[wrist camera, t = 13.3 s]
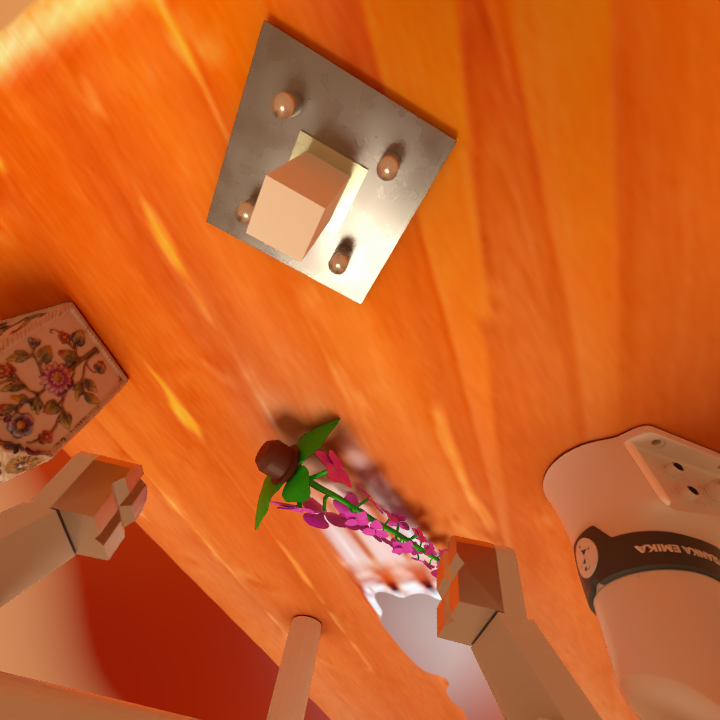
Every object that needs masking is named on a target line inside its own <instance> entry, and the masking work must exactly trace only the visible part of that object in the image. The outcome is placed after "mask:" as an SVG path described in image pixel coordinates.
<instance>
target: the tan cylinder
mask: <svg viewBox="0 0 720 720" xmlns="http://www.w3.org/2000/svg"><path fill="white" fill-rule="evenodd" d="M321 629H322V626H321V623H320V622H319V621H317V620H316V619H314V618H311V617H307V616H297V617H294V618H293V620H292V622H291V625H290V629H289V633H288V637H287V641H286V645H285V649H284V653H283V657H282V661H281V665H280V668H279V672H278V676H277V680H276V684H275V688H274V692H273V696H272V700H271V704H270V708H269V712H268V716H267V719H266V720H304V715H305V709H306V705H307V700H308V695H309V690H310V685H311V680H312V675H313V670H314V665H315V660H316V655H317V649H318V644H319V639H320V634H321Z"/></svg>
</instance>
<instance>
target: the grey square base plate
mask: <svg viewBox="0 0 720 720" xmlns="http://www.w3.org/2000/svg"><path fill="white" fill-rule="evenodd" d="M456 142H457V141H456V139H454V138H452V137H451V136H449V135H448V134H446V133H445V132H443V131H441V130H440V129H438V128H437V127H435V126H433V125H432V124H430V123H429V122H427V121H425V120H424V119H422V118H421V117H419V116H417V115H416V114H414V113H413V112H411V111H410V110H408V109H406V108H405V107H403V106H402V105H400V104H398V103H397V102H395V101H394V100H392V99H390V98H389V97H387V96H386V95H384V94H383V93H381V92H379V91H378V90H376V89H375V88H373V87H371V86H370V85H368V84H367V83H365V82H363V81H362V80H360V79H359V78H357V77H355V76H354V75H352V74H351V73H349V72H348V71H346V70H344V69H343V68H341V67H340V66H338V65H336V64H335V63H333V62H332V61H330V60H328V59H327V58H325V57H324V56H322V55H321V54H319V53H317V52H316V51H314V50H313V49H311V48H309V47H308V46H306V45H305V44H303V43H301V42H300V41H298V40H297V39H295V38H293V37H292V36H290V35H289V34H287V33H286V32H284V31H282V30H281V29H279V28H278V27H276V26H274V25H273V24H271V23H270V22H268V21H265V20H264V22H263V25H262V29H261V32H260V36H259V39H258V43H257V46H256V50H255V53H254V57H253V60H252V64H251V67H250V71H249V74H248V78H247V81H246V85H245V88H244V92H243V95H242V99H241V102H240V106H239V109H238V113H237V116H236V120H235V123H234V127H233V130H232V134H231V137H230V141H229V144H228V148H227V151H226V155H225V158H224V162H223V165H222V169H221V172H220V176H219V179H218V183H217V186H216V190H215V193H214V197H213V200H212V204H211V207H210V211H209V214H208V218H207V221H206V222H208V223H210V224H212V225H214V226H215V227H217V228H219V229H221V230H223V231H225V232H227V233H229V234H230V235H232V236H234V237H236V238H238V239H240V240H242V241H243V242H245V243H247V244H249V245H251V246H253V247H255V248H257V249H258V250H260V251H262V252H264V253H266V254H268V255H270V256H272V257H273V258H275V259H277V260H279V261H281V262H283V263H285V264H287V265H288V266H290V267H292V268H294V269H296V270H298V271H300V272H302V273H303V274H305V275H307V276H309V277H311V278H313V279H315V280H317V281H318V282H320V283H322V284H324V285H326V286H328V287H330V288H331V289H333V290H335V291H337V292H339V293H341V294H343V295H345V296H346V297H348V298H350V299H352V300H354V301H356V302H358V303H360V304H361V303H362V301H363V300H364V298H365V296H366V294H367V293H368V291H369V289H370V288H371V286H372V284H373V283H374V281H375V279H376V277H377V276H378V274H379V272H380V271H381V269H382V267H383V266H384V264H385V262H386V261H387V259H388V257H389V255H390V254H391V252H392V250H393V249H394V247H395V245H396V244H397V242H398V240H399V238H400V237H401V235H402V233H403V232H404V230H405V228H406V227H407V225H408V223H409V221H410V220H411V218H412V216H413V215H414V213H415V211H416V210H417V208H418V206H419V205H420V203H421V201H422V199H423V198H424V196H425V194H426V193H427V191H428V189H429V188H430V186H431V184H432V182H433V181H434V179H435V177H436V176H437V174H438V172H439V171H440V169H441V167H442V165H443V164H444V162H445V160H446V159H447V157H448V155H449V154H450V152H451V150H452V149H453V147H454V145H455V143H456ZM305 151H308V152H309V153H311V154H313V155H315V156H316V157H318V158H320V159H321V160H323V161H325V162H327V163H328V164H330V165H332V166H333V167H335V168H337V169H339V170H340V171H342V172H344V173H345V174H347V175H349V176H351V177H350V179H349V182H348V184H347V186H346V188H345V190H344V192H343V194H342V196H341V199H340V201H339V203H338V205H337V207H336V209H335V211H334V214H333V216H332V218H331V220H330V221H329V223H328V224H327V226H326V227H325V229H324V230H323V231H322V233H321V234H320V236H319V237H318V239H317V240H316V242H315V243H314V244H313V246H312V247H311V249H310V250H309V252H308V253H307V254H306V256H305V257H304V259H303V260H302V262H299V261H297V260H296V259H294V258H292V257H290V256H288V255H286V254H284V253H283V252H281V251H279V250H277V249H275V248H273V247H271V246H270V245H268V244H266V243H264V242H262V241H260V240H258V239H256V238H255V237H253V236H251V235H249V234H247V233H246V231H247V228H248V225H249V222H250V219H251V216H252V214H253V211H254V208H255V205H256V202H257V199H258V196H259V193H260V191H261V188H262V185H263V182H264V179H265V176H266V175H267V174H268V173H270V172H272V171H274V170H275V169H277V168H279V167H280V166H282V165H284V164H285V163H287V162H289V161H290V160H292V159H294V158H295V157H297V156H299V155H300V154H302V153H304V152H305Z"/></svg>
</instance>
